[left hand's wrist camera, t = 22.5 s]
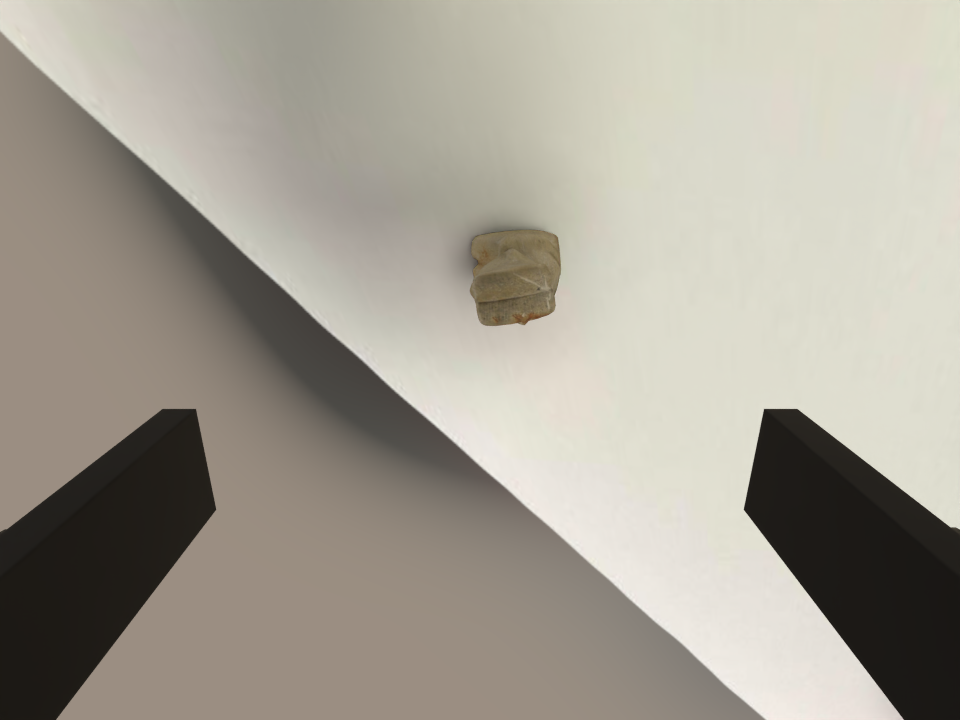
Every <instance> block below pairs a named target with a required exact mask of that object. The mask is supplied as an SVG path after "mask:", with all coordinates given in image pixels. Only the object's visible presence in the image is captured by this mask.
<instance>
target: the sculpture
mask: <svg viewBox="0 0 960 720" xmlns="http://www.w3.org/2000/svg"><path fill="white" fill-rule="evenodd" d="M471 254H472V256H473V258H475V259H476V260H478V265H477V266H476V267H475V268H474V269H473V274H474V279H473V283H472V285H471V288H470V293H471V295H472V297H473V298H474V299H475V302H476V308H477V314H478V318H479V320H480V322H481V323H482V324H483V325H486V326H499V325H507V324H514V323H519V324H521V325H525V324H526V323H527V322H528V321H530V320H534V319H538V318H541V317H544V316H547V315H549V314H550V313H552V312H553V311H554V309H555V297H554V295H555V293H556V290H557V286H558V282H559V276H560V273H561V261H560V250H559V242H558V237H557V236H556V235H554V234H552V233H548V232H545V231H538V230H516V231H503V232H496V233H489V234H484V235H479V236H476V237H475V238H474V240H473V242H472V247H471Z"/></svg>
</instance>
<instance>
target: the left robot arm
mask: <svg viewBox="0 0 960 720" xmlns="http://www.w3.org/2000/svg"><path fill="white" fill-rule="evenodd" d="M215 510H216V506H215V501H214V497H213V492H212V487H211V482H210V477H209V472H208V467H207V462H206V457H205V452H204V447H203V442H202V437H201V432H200V427H199V422H198V417H197V412H196V409H162V410H161V411H160V412H158V413H157V414H156V415H154V416H153V417H152V418H150V419H149V420H148V421H147V422H145V423H144V424H143V425H141V426H140V427H139V428H138V429H136V430H135V431H134V432H132V433H131V434H130V435H129V436H127V437H126V438H125V439H123V440H122V441H121V442H119V443H118V444H117V445H116V446H114V447H113V448H112V449H110V450H109V451H108V452H107V453H105V454H104V455H103V456H101V457H100V458H99V459H98V460H96V461H95V462H94V463H92V464H91V465H90V466H88V467H87V468H86V469H85V470H83V471H82V472H81V473H79V474H78V475H77V476H75V477H74V478H73V479H72V480H70V481H69V482H68V483H66V484H65V485H64V486H63V487H61V488H60V489H59V490H57V491H56V492H55V493H53V494H52V495H51V496H50V497H48V498H47V499H46V500H44V501H43V502H42V503H41V504H39V505H38V506H37V507H35V508H34V509H33V510H32V511H30V512H29V513H28V514H26V515H25V516H24V517H22V518H21V519H20V520H19V521H17V522H16V523H15V524H13V525H12V526H11V527H10V528H8V529H5V530H3V531H1V532H0V720H56V719H57V718H58V716H59V715H60V714H61V712H62V711H63V710H64V708H65V707H66V706H67V705H68V703H69V702H70V701H71V699H72V698H73V697H74V695H75V694H76V693H77V691H78V690H79V689H80V687H81V686H82V685H83V684H84V682H85V681H86V680H87V678H88V677H89V676H90V674H91V673H92V672H93V670H94V669H95V668H96V666H97V665H98V664H99V663H100V661H101V660H102V659H103V657H104V656H105V655H106V653H107V652H108V651H109V649H110V648H111V647H112V646H113V644H114V643H115V642H116V640H117V639H118V638H119V636H120V635H121V634H122V632H123V631H124V630H125V628H126V627H127V626H128V624H129V623H130V622H131V621H132V619H133V618H134V617H135V615H136V614H137V613H138V611H139V610H140V609H141V607H142V606H143V605H144V604H145V602H146V601H147V600H148V598H149V597H150V596H151V594H152V593H153V592H154V590H155V589H156V588H157V586H158V585H159V584H160V583H161V581H162V580H163V579H164V577H165V576H166V575H167V573H168V572H169V571H170V569H171V568H172V567H173V566H174V564H175V563H176V562H177V560H178V559H179V558H180V556H181V555H182V554H183V552H184V551H185V550H186V548H187V547H188V546H189V545H190V543H191V542H192V540H193V539H194V538H195V537H196V535H197V534H198V533H199V531H200V530H201V529H202V527H203V526H204V525H205V524H206V522H207V521H208V520H209V518H210V517H211V516H212V514H213V513H214V512H215ZM744 510H745V512H746V513H747V514H748V516H749V517H750V518H751V520H752V521H753V522H754V524H755V525H756V526H757V528H758V529H759V530H760V531H761V533H762V534H763V535H764V537H765V538H766V539H767V541H768V542H769V543H770V545H771V546H772V547H773V548H774V550H775V551H776V552H777V554H778V555H779V556H780V558H781V559H782V560H783V562H784V563H785V564H786V566H787V567H788V568H789V569H790V571H791V572H792V573H793V575H794V576H795V577H796V579H797V580H798V581H799V583H800V584H801V585H802V587H803V588H804V589H805V590H806V592H807V593H808V594H809V596H810V597H811V598H812V600H813V601H814V602H815V604H816V605H817V606H818V607H819V609H820V610H821V611H822V613H823V614H824V615H825V617H826V618H827V619H828V621H829V622H830V623H831V625H832V626H833V627H834V628H835V630H836V631H837V632H838V634H839V635H840V636H841V638H842V639H843V640H844V642H845V643H846V644H847V646H848V647H849V648H850V649H851V651H852V652H853V653H854V655H855V656H856V657H857V659H858V660H859V661H860V663H861V664H862V665H863V666H864V668H865V669H866V670H867V672H868V673H869V674H870V676H871V677H872V678H873V680H874V681H875V682H876V684H877V685H878V686H879V687H880V689H881V690H882V691H883V693H884V694H885V695H886V697H887V698H888V699H889V701H890V702H891V703H892V705H893V706H894V707H895V708H896V710H897V711H898V712H899V714H900V715H901V716H902V718H903V719H904V720H960V529H958V528H950V527H949V526H948V525H947V524H945V523H944V522H943V521H941V520H940V519H939V518H938V517H936V516H935V515H934V514H932V513H931V512H930V511H928V510H927V509H926V508H925V507H923V506H922V505H921V504H919V503H918V502H917V501H916V500H914V499H913V498H912V497H910V496H909V495H908V494H907V493H905V492H904V491H903V490H901V489H900V488H899V487H897V486H896V485H895V484H894V483H892V482H891V481H890V480H888V479H887V478H886V477H885V476H883V475H882V474H881V473H879V472H878V471H877V470H875V469H874V468H873V467H872V466H870V465H869V464H868V463H866V462H865V461H864V460H863V459H861V458H860V457H859V456H857V455H856V454H855V453H853V452H852V451H851V450H850V449H848V448H847V447H846V446H844V445H843V444H842V443H841V442H839V441H838V440H837V439H835V438H834V437H833V436H832V435H830V434H829V433H828V432H826V431H825V430H824V429H822V428H821V427H820V426H819V425H817V424H816V423H815V422H813V421H812V420H811V419H810V418H808V417H807V416H806V415H804V414H803V413H802V412H800V411H799V410H798V409H764V412H763V417H762V422H761V427H760V432H759V437H758V442H757V447H756V452H755V457H754V462H753V467H752V472H751V477H750V482H749V487H748V492H747V497H746V501H745V506H744Z"/></svg>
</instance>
